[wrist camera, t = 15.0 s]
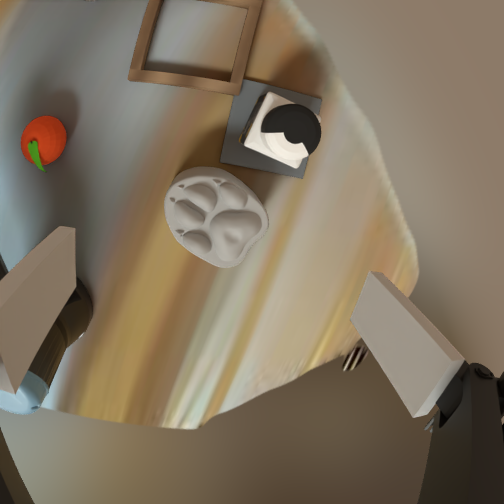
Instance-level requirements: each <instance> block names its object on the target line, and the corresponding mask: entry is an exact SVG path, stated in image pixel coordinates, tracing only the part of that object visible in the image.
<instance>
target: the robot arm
mask: <svg viewBox="0 0 504 504" xmlns="http://www.w3.org/2000/svg"><path fill="white" fill-rule="evenodd" d="M91 318H92V303H91V299H90V296H89V294H88V292H87V290H86V288H85V287H84V285H83V284H82V282H81V281H80V280H79V279H78V278H77V277H76V265H75V228H71V227H65V226H59V227H58V228H56V229H55V230H54V231H53V232H52V233H51V234H49V235H48V236H47V237H46V238H45V239H44V240H43V241H42V242H40V243H39V244H38V245H37V246H36V247H35V248H34V249H33V250H32V251H31V252H29V253H28V254H27V255H26V256H25V257H24V258H23V259H22V260H21V261H20V262H19V263H18V264H17V265H16V266H15V267H14V268H13V269H12V270H11V271H10V272H8V270H7V267H6V265H5V263H4V261H3V259H2V256H1V254H0V408H1V409H3V410H6V411H8V412H12V413H16V414H31V413H33V412H35V411H37V410H38V409H39V408H40V406H41V404H42V402H43V400H44V398H45V396H46V395H47V394H48V393H49V388H50V386H51V383H52V381H53V378H54V376H55V373H56V371H57V369H58V366H59V364H60V362H61V359H62V357H63V355H64V352H65V350H66V348H68V347H69V346H70V345H71V344H72V343H73V342H75V341H76V340H77V339H79V338H80V337H81V336H82V335H83V334H84V333H85V332H86V330H87V328H88V326H89V323H90V321H91ZM350 321H351V322H352V323H353V325H354V326H355V328H356V329H357V331H358V332H359V334H360V335H361V337H362V338H363V340H364V341H365V343H366V345H367V346H368V348H369V349H370V350H371V352H372V354H373V355H374V357H375V358H376V360H377V361H378V363H379V364H380V366H381V367H382V369H383V371H384V372H385V374H386V375H387V377H388V378H389V380H390V382H391V383H392V385H393V386H394V388H395V389H396V391H397V393H398V394H399V396H400V397H401V399H402V401H403V402H404V404H405V405H406V407H407V408H408V410H409V412H410V413H411V415H412V417H413V418H414V417H418V416H423V415H427V414H428V412H429V411H430V410H431V409H432V407H433V406H434V404H435V403H436V404H437V406H438V407H439V410H438V411H437V412H436V414H435V415H434V416H433V418H432V419H431V420H430V421H429V422H428V424H427V425H426V426H425V428H424V430H427V429H428V428H429V426H431V425H433V428H432V429H431V430H430V432H432V437H431V443H430V449H429V454H428V460H427V465H426V470H425V474H424V479H423V483H422V488H421V492H420V495H419V499H418V503H417V504H504V424H503V425H502V422H501V418H502V417H503V416H504V372H503V373H502V375H501V377H500V378H495V377H494V375H493V373H492V372H491V371H490V370H489V369H488V368H486V367H485V366H483V365H481V364H479V363H471V364H470V365H469V364H468V363H467V362H466V361H465V359H464V358H463V356H462V355H461V354H460V353H459V352H458V351H457V350H456V349H455V348H454V347H453V345H452V344H451V343H450V342H449V341H448V340H447V339H446V338H445V337H444V336H443V335H442V334H441V332H440V331H439V330H438V329H437V328H436V327H435V326H434V325H433V324H432V323H431V322H430V321H429V320H428V319H427V318H426V317H425V316H424V315H423V313H422V312H421V311H420V310H419V309H417V307H416V306H415V305H414V304H413V303H412V302H411V301H410V300H409V299H408V298H407V297H406V296H405V295H404V294H403V293H402V292H401V291H400V290H399V289H398V288H397V287H396V286H395V285H394V284H393V283H392V282H391V281H390V280H389V279H388V278H387V277H386V276H385V275H384V274H383V273H380V272H373V271H369V273H368V275H367V278H366V281H365V283H364V286H363V288H362V291H361V294H360V296H359V299H358V301H357V304H356V306H355V308H354V311H353V313H352V316H351V318H350ZM0 504H34V502H33V500H32V498H31V496H30V494H29V492H28V490H27V488H26V486H25V484H24V482H23V480H22V478H21V476H20V475H19V472H18V470H17V467H16V466H15V463H14V461H13V458H12V456H11V454H10V451H9V449H8V446H7V444H6V441H5V439H4V436H3V433H2V431H1V428H0Z"/></svg>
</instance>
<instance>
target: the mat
mask: <svg viewBox="0 0 504 504" xmlns="http://www.w3.org/2000/svg"><path fill="white" fill-rule="evenodd" d="M268 92H272V93H274V94H277V95H279V96H281V97H283V98H285V99H287V100H289V101H291V102H293V103H295V104H300V105H303V106H305V107H307V108H308V109H310V110H311V111H312V112H313V113H315V114H317V115H319V110H320V106H321V102H322V99H318V98H315V97H312V96H308V95H305V94H301V93H298V92H294V91H291V90H287V89H283V88H279V87H275V86H271V85H267V84H263V83H258V82H254V81H250V80H245V79H243V80H242V84H241V89H240V93H239V96H236V95H234V98H233V102H232V107H231V111H230V116H229V120H228V125H227V129H226V134H225V139H224V143H223V148H222V153H221V158H220V162H221V163H227V164H233V165H238V166H243V167H248V168H254V169H259V170H264V171H268V172H273V173H278V174H283V175H287V176H292V177H296V178H301V179H303V176H304V172H305V168H306V164H307V160H308V156H307V157H305V158H303V159H302V161H301V163H300V166H299V167H298V168H293V167H291V166H289V165H287V164H285V163H282V162H280V161H278V160H276V159H274V158H271V157H269V156H267V155H265V154H262V153H260V152H258V151H255V150H253V149H251V148H248V147H246V146H244V145H243V144H241V143H240V142H239V138H240V136H241V134H242V132H243V130H244V127H245V125H246V123H247V121H248V119H249V117H250V114H251V112H252V110H253V108H254V106H255V104H256V102H257V100H258V97H259V96H261V95H264V94H266V93H268Z"/></svg>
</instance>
